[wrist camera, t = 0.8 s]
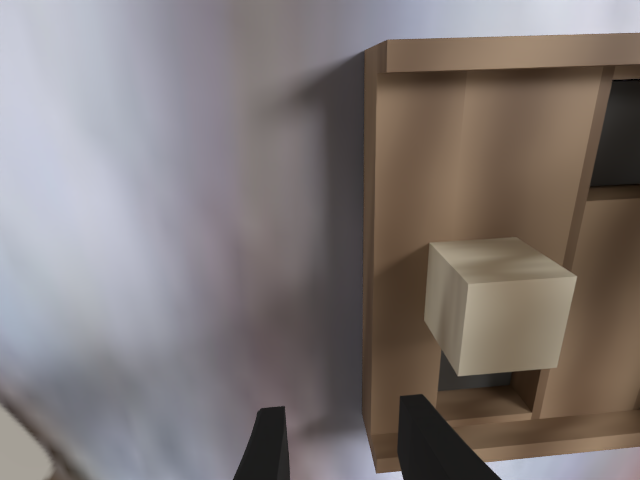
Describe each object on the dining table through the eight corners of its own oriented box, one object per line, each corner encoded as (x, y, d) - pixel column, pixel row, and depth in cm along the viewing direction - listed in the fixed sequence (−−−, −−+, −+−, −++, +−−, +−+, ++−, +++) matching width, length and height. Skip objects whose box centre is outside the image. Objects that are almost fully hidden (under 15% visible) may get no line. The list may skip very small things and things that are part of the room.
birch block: (516, 237, 18) (577, 276, 14) (504, 314, 19) (556, 367, 16) (429, 242, 18) (468, 283, 14) (423, 320, 19) (458, 376, 15)
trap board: (754, 39, 18) (939, 19, 13) (640, 388, 25) (731, 464, 20) (364, 50, 17) (399, 33, 12) (361, 414, 24) (383, 501, 19)
